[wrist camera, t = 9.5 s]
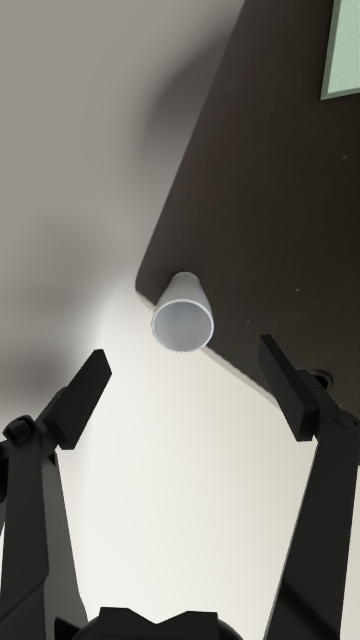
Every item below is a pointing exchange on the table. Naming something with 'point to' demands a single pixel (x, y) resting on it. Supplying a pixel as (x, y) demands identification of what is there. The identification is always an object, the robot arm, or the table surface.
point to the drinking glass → (183, 315)
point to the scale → (343, 51)
